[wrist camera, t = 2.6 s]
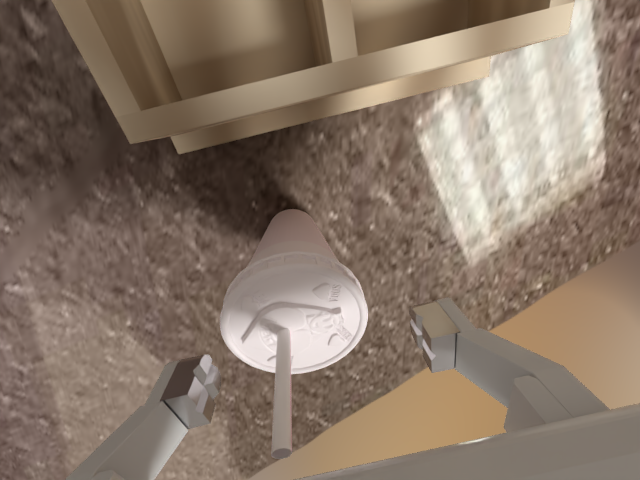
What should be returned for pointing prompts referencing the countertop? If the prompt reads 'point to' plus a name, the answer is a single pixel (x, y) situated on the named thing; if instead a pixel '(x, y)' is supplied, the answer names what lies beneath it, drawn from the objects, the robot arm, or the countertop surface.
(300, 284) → the smoothie
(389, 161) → the countertop surface
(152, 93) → the wooden divided tray
